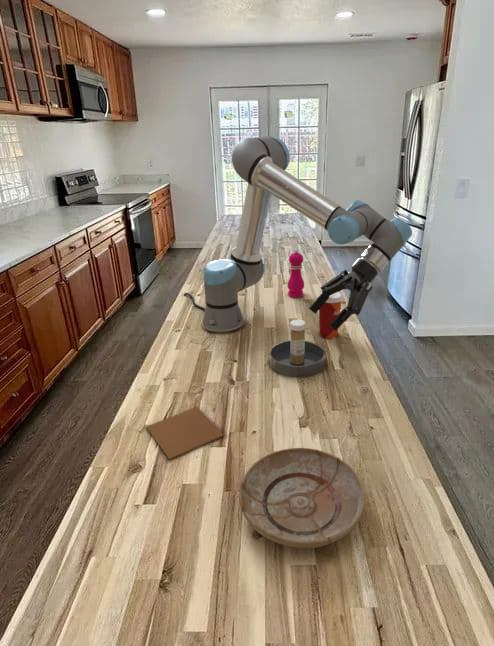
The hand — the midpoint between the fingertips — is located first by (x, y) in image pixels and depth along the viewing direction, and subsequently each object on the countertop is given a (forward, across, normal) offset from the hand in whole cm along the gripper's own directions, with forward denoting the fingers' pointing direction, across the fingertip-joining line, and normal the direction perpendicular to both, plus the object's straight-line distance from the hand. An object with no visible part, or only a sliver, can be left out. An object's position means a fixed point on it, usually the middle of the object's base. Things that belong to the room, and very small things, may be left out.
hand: (321, 319), depth 131 cm
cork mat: (+43, +21, -24) cm, 53 cm away
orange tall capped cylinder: (+2, -14, +17) cm, 22 cm away
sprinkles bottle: (+15, 0, +4) cm, 15 cm away
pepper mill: (-1, -54, +20) cm, 58 cm away
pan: (+15, 0, +4) cm, 15 cm away
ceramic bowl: (+31, +52, -12) cm, 61 cm away
